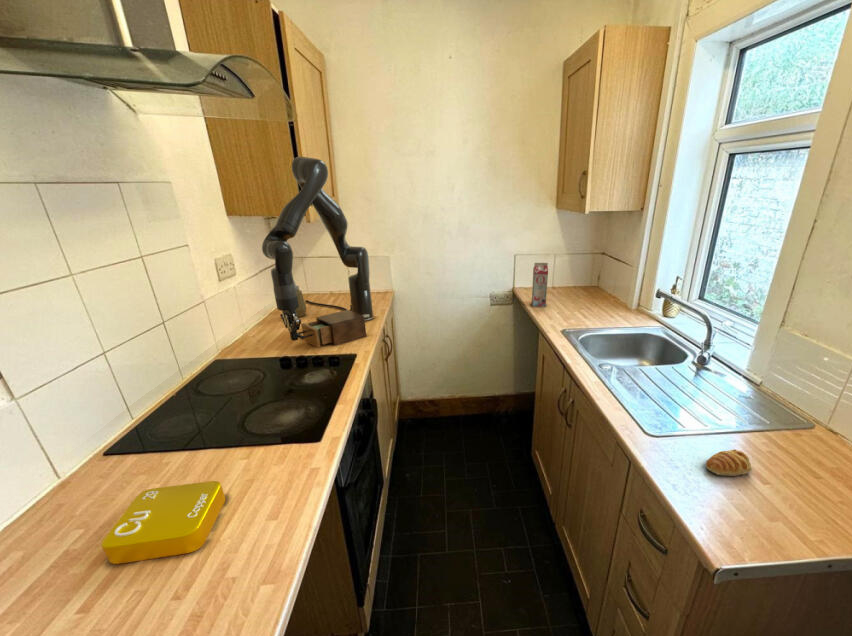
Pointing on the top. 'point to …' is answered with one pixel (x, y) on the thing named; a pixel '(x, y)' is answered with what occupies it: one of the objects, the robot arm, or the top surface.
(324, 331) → the drawer
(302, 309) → the squeeze bottle
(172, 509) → the element tile
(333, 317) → the cabinet
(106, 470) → the top surface
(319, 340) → the block
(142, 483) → the top surface
